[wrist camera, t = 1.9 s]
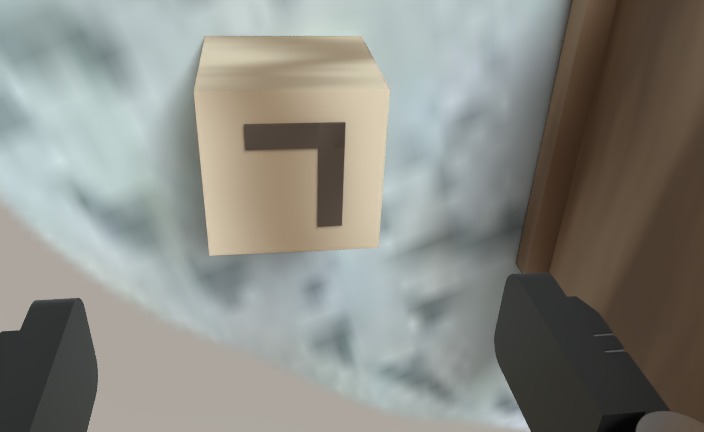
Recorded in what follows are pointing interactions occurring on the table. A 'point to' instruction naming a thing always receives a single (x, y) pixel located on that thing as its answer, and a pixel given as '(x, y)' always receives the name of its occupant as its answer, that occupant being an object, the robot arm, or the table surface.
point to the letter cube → (290, 143)
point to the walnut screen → (629, 184)
